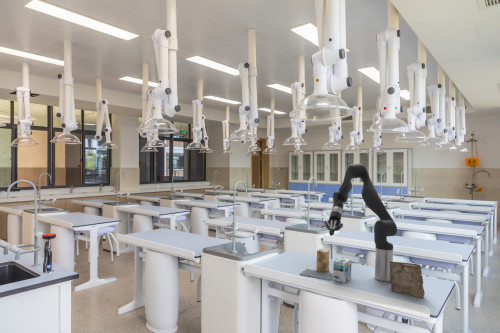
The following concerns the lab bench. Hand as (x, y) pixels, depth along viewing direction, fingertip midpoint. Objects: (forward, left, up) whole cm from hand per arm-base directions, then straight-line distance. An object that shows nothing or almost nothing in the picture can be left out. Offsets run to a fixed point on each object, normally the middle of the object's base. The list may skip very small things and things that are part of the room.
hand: (331, 234), depth 215 cm
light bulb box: (-14, +29, -19) cm, 38 cm away
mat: (0, +28, -19) cm, 34 cm away
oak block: (0, +18, -19) cm, 26 cm away
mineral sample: (-46, +33, -19) cm, 60 cm away
